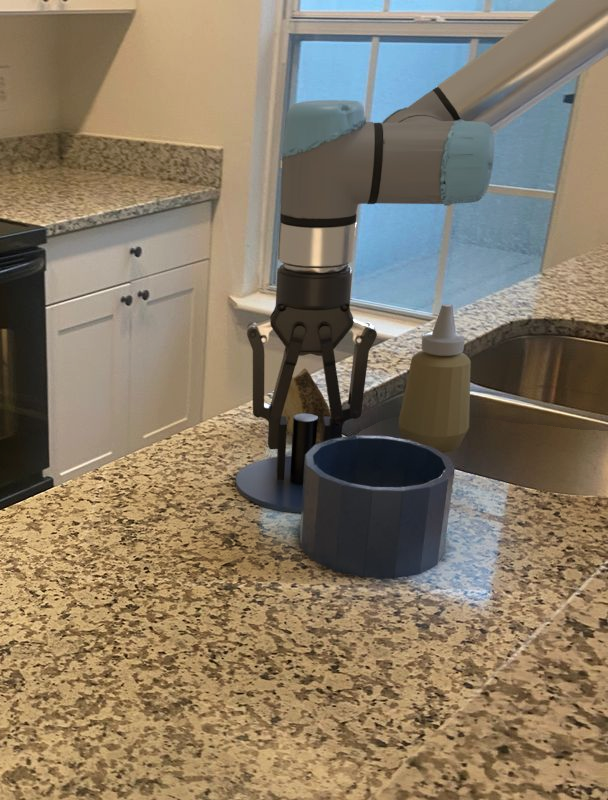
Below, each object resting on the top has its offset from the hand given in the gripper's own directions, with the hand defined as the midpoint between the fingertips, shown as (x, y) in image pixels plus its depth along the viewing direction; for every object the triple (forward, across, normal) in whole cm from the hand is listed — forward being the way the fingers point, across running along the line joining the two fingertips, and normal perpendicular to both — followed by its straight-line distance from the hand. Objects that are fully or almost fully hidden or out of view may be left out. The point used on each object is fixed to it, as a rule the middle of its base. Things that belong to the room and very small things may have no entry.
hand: (301, 475), depth 114 cm
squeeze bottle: (+2, -16, -12) cm, 20 cm away
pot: (+2, -6, +14) cm, 15 cm away
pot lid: (+1, 0, 0) cm, 1 cm away
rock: (+2, -2, -16) cm, 17 cm away
